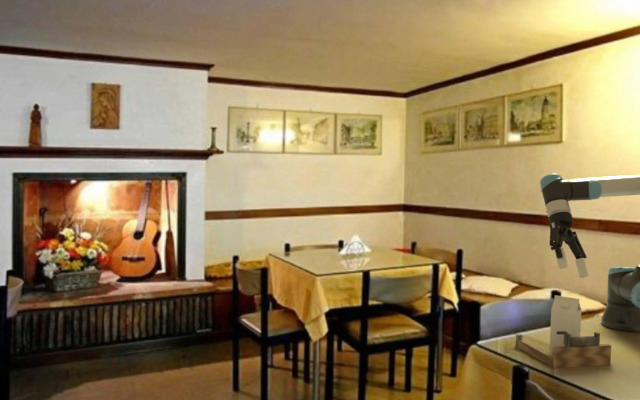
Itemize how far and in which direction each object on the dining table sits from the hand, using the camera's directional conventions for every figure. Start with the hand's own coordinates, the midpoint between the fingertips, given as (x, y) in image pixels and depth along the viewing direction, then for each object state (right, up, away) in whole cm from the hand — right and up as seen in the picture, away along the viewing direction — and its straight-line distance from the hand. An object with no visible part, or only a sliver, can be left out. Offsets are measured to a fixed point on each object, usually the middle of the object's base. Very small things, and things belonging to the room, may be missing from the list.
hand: (574, 272), depth 169 cm
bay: (-8, -25, -6) cm, 27 cm away
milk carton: (-7, -26, -8) cm, 28 cm away
